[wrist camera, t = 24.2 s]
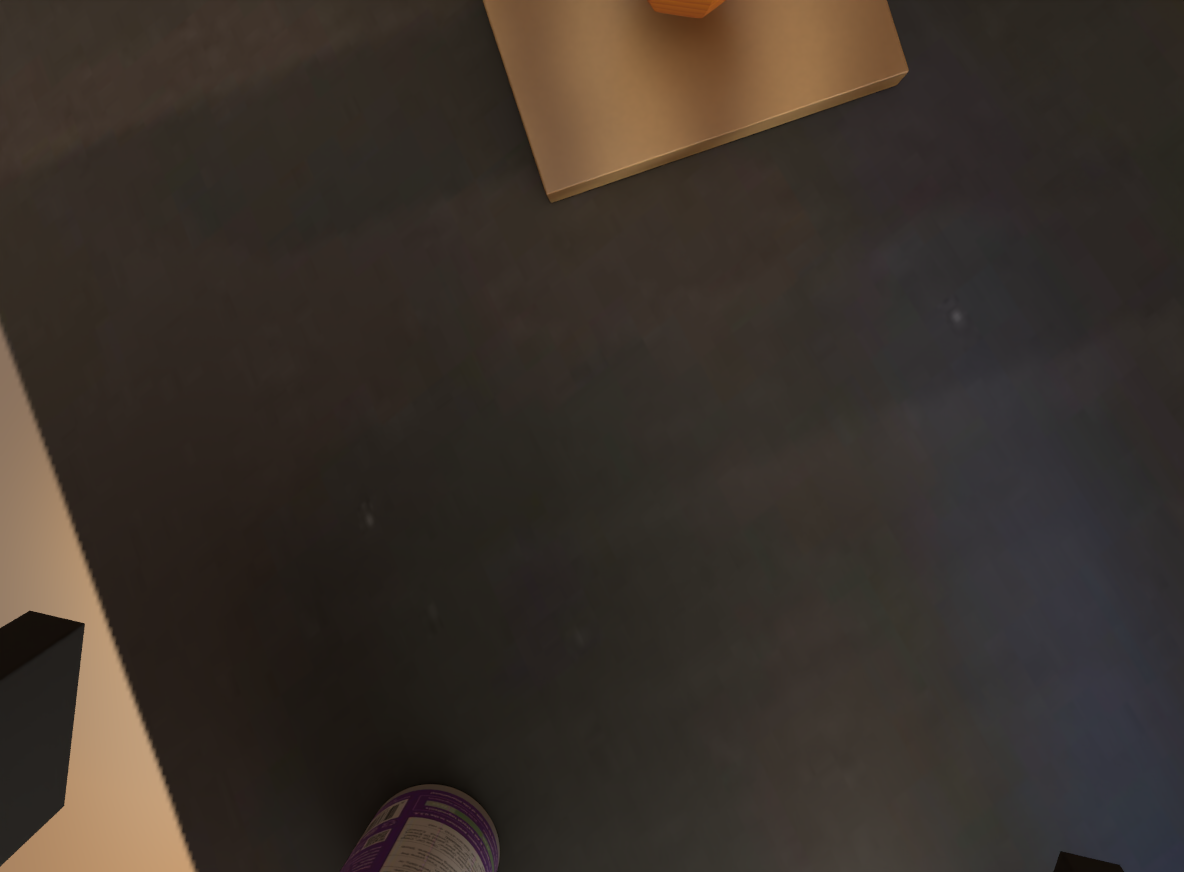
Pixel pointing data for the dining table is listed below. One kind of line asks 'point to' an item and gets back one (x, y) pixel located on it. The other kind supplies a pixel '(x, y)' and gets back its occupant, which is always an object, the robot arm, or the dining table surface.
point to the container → (428, 834)
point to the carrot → (685, 7)
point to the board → (679, 76)
